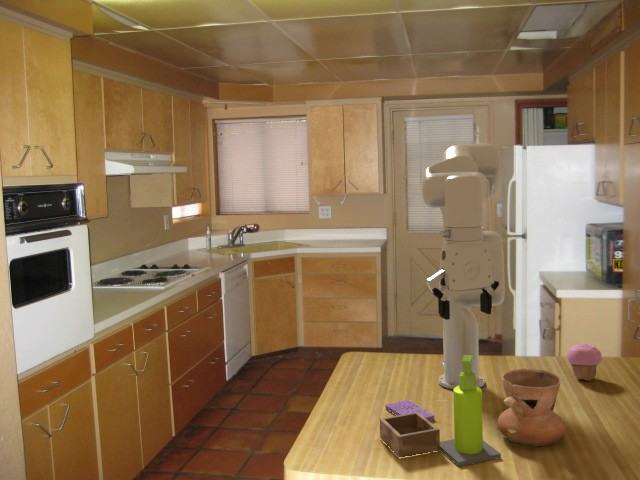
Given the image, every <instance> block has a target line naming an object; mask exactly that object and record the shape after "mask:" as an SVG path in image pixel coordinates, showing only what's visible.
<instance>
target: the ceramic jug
mask: <svg viewBox="0 0 640 480" xmlns="http://www.w3.org/2000/svg"><path fill="white" fill-rule="evenodd" d="M501 380H502V381H501V382H502V385H503V391H504V394H505V396H506V398H505V399H504V400H503V404H505V406H507V407H509V408H506V410H504V411H502V412H501V413H500V415H499V416H498V418H497V428H498V429H499V432H500V433H501V435H502V436H503V437H505V438H506V439H507V440H510V441H511V442H514V443H516V444H520V445H525V446H530V447H531V446H532V447H535V446H536V447H537V446H539V447H541V446H547V445H552V444H554V443H556V442H558V441H560V440H561V439H562V438H563V437H564V435H565V433H566V430H567V427H566V424H565V421H564V419H562V417H561V416H560V415H558V414H557V413H556V412H555V411H554V410H555V406H556V401H557V396H558V394H559V392H560V386H561V378H560V376H558V375H557V374H555V373H553V372H551V371H548V370H544V369H536V368H519V369H511V370H508V371H506V372H504V373H503V374H502V376H501Z"/></svg>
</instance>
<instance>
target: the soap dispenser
mask: <svg viewBox="0 0 640 480" xmlns="http://www.w3.org/2000/svg"><path fill="white" fill-rule="evenodd" d="M473 357H474V355H464V356H463V359H462V364H463V371H462V372H460V373H459V386H457V387H455V388H454V390H453V426H454V429H453V430H454V432H453V433H454V437H453V438H454V439H455V449H456V450H457V451H458V452H460V453H464V454H476V453H479V452H481V451H482V450H483V441H484V440H483V438H484V437H483V390H482V387H480V388H479V387H477V386H476V375H475V373H474V372H472V371H471V362H472V359H473Z"/></svg>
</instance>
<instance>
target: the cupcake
mask: <svg viewBox="0 0 640 480" xmlns="http://www.w3.org/2000/svg"><path fill="white" fill-rule="evenodd" d="M566 358H567V361H568V362H569V363H570V366H571V369H572V372H573V375H574V377H575V379H577V380H582V381H583V380H584V381H587V382H588V381H589V382H590V381H592V380H593V379H594V378H595V377H596V374H597V366H598V365H600V363H601V362H602V360H603V359H602V351H600V349H598V348H597V347H596V346H595V345H594V344H592V343H577V344H574V345H572V346H571V347H569V349H568V350H567V353H566Z"/></svg>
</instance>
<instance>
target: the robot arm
mask: <svg viewBox="0 0 640 480" xmlns="http://www.w3.org/2000/svg"><path fill="white" fill-rule="evenodd" d="M501 155H502V154H501V153H500V150H499V148H498V147H497V146H496V145H495V144H492V143H467V144H465V143H464V144H462V143H461V144H456V145H451V146H450V147H448V148H447V149H446V150H445V151H444V153H443V154H442V156H441V157H442V158H441V161H439V162H436V163H433V164H431V165H429V166H428V167H427V168H426V169H425V170H424V172H423V177H422V182H421V195H422V196H421V197H422V200H423V202H424V203H425V205H426V206H427V207H430V208H435V209H436V208H437V209H438V208H439V210H440V212H441V217H442V230H441V231H440V233H439V235H440V238H442V247H441V252H440V259H439V260H440V261H439V271H438V272H436V273H434V274H433V275H432V276H430V277H428V278H427V279H426V281H425V284H426V286H427V287H428V289H429V292H430V293H431V294H432V295H433V296H434V297H435V298H436V299H438V300H437V303H438V304H437V305H438V306H437V308H438V315H439V317H440V318H442V340H443V341H442V342H443V343H442V344H443V345H442V346H443V349H442V350H443V362H442V363H441V368H443V374H441V375H439V376H438V384H439V385H440V386H442V387H444V388H446V389H450V390H453V391H454V388H455V387H457V386H459V373H460V372H462V371H463V364H462V359H463V356H464V355H474V357H473V359H472V362H471V371H472V372H474V373H475V375H476V386H477V387H479V388H482V387H483V386H484V385H485V384H486V383H485V382H486V381H485V380H486V379H485V378H484V377H483V376H482V375H480V372H479V371H480V366H479V362H480V359H479V351H480V350H479V321H478V319H477V317H476V315H475V314H474V313H473V312H472V310H470V308H469V307H480V308H479V309H480V312H482V313H484V314H486V315H491V314H492V308H493V307H495V306H499V305H501V304H502V303H503V302H504V300H505V296H506V295H505V294H506V293H505V292H506V283H505V282H506V281H505V279H506V278H505V253H504V242H503V239H502V237H501V235H500V233H498V232H496V231H494V230H484V227H483V225H484V224H483V223H484V222H483V221H484V220H483V215H484V211H483V205H484V204H485V203H486V201H487V200H488V198H492V197H494V196H496V195H497V194H498V191H499V188H500V183H501V182H500V181H501V180H500V179H501V175H502V156H501ZM437 283H438V287H437Z"/></svg>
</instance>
